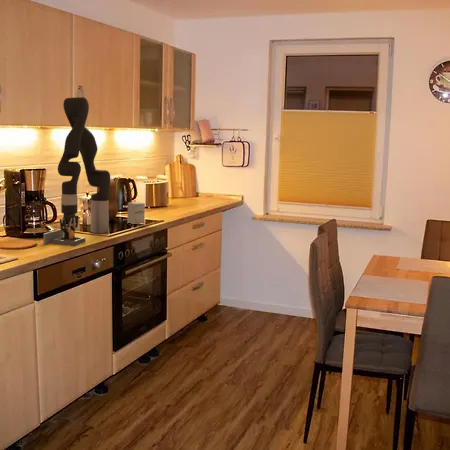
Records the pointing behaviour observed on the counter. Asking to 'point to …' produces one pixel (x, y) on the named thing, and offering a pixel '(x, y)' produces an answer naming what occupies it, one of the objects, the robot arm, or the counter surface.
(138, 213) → the supplement box
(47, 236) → the wall
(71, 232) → the ball
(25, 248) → the counter surface
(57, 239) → the tray
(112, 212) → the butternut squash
